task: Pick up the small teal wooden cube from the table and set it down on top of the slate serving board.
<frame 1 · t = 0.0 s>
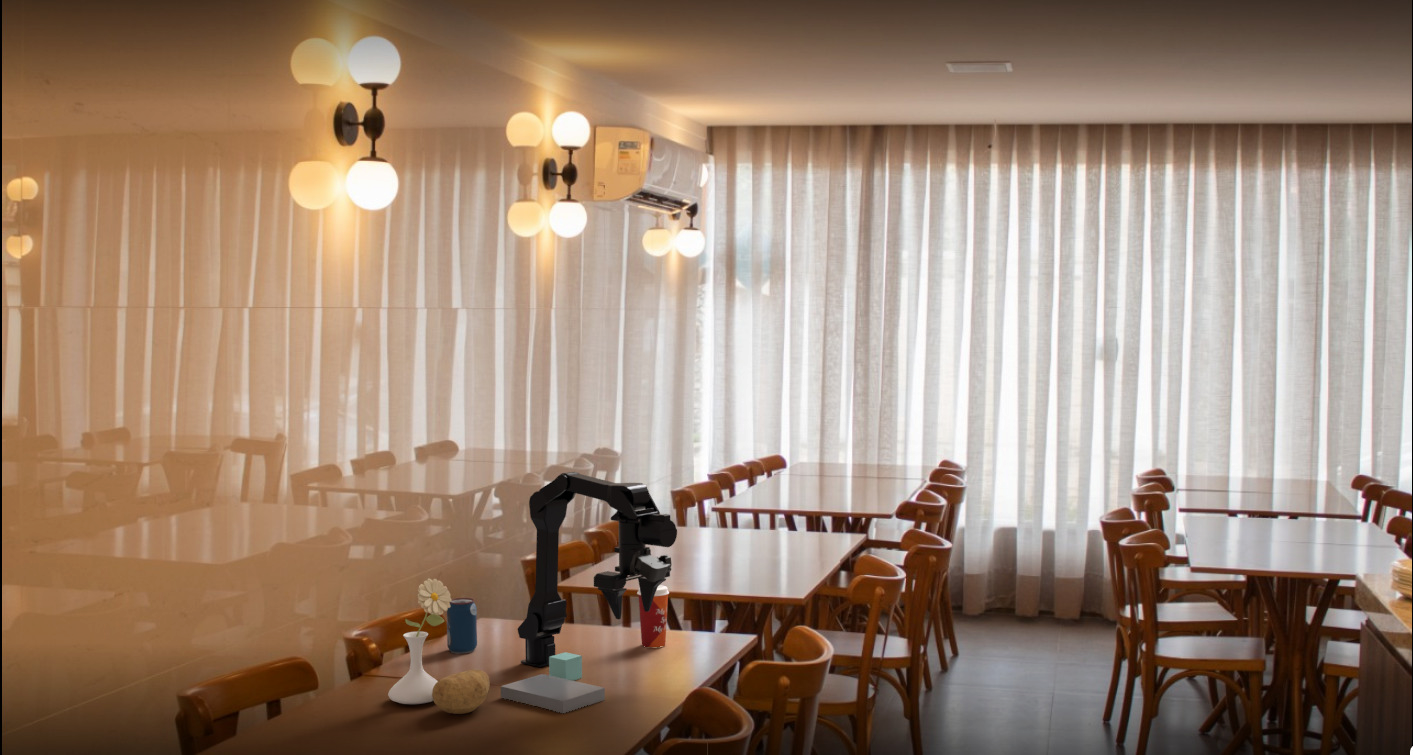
hand: (632, 615, 282), 15 cm above the table, tool pointing down, fingers open, 9 cm apart
paper cup: (653, 646, 316), on the table
teal cube: (565, 679, 287), on the table
soda can: (462, 651, 312), on the table
potato: (463, 712, 263), on the table
flower in vase: (420, 701, 271), on the table
slate board: (552, 699, 271), on the table
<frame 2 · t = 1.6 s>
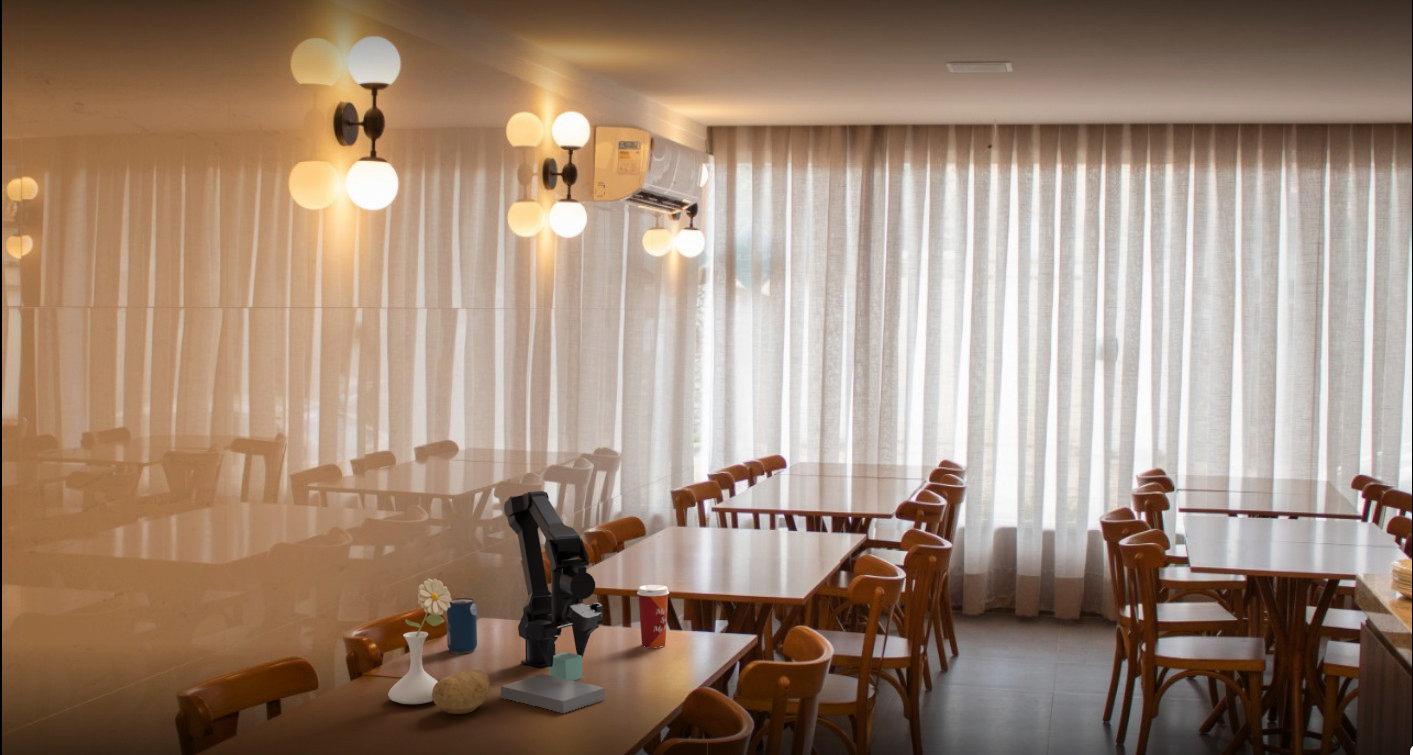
hand: (565, 662, 287), 4 cm above the table, tool pointing down, fingers open, 9 cm apart
nothing on the table moved.
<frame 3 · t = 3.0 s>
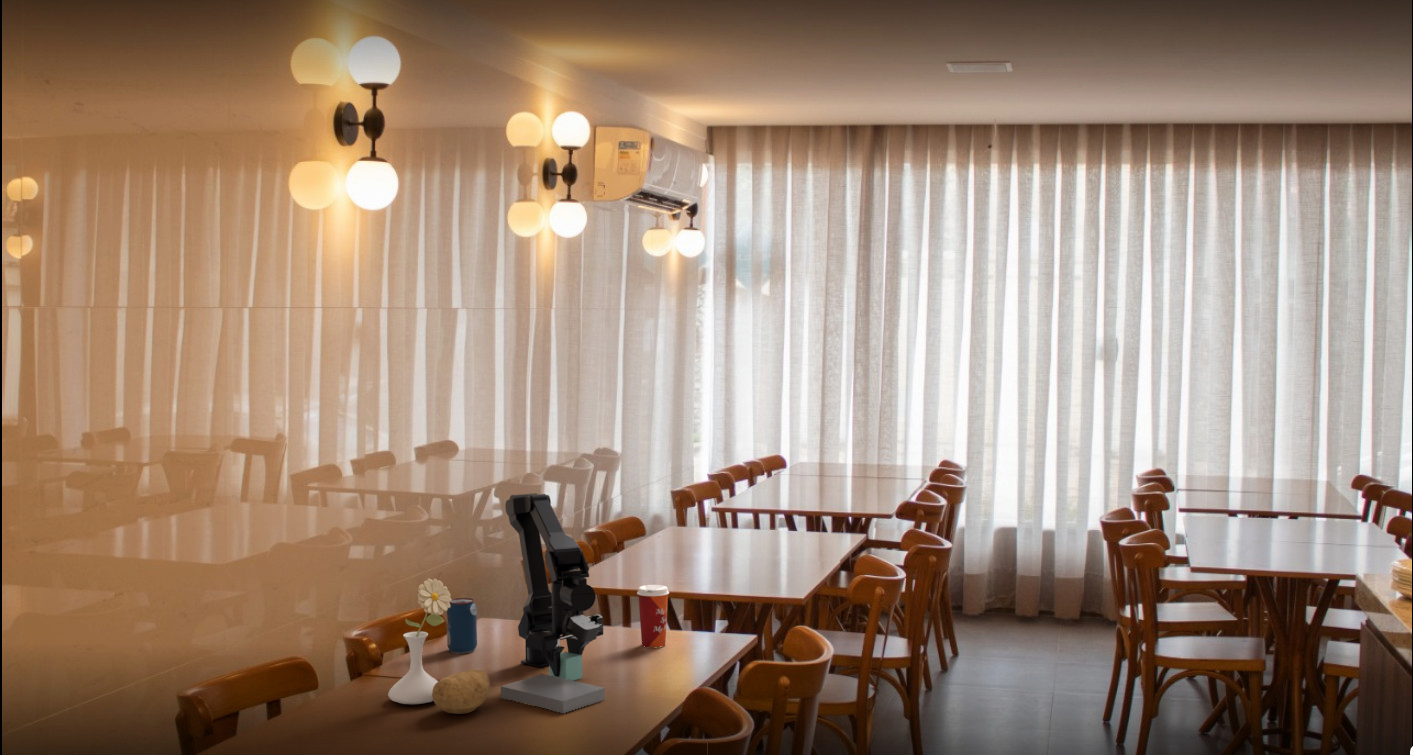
hand: (565, 673, 287), 1 cm above the table, tool pointing down, fingers closed on teal cube, 5 cm apart
teal cube: (565, 678, 287), on the table, touching gripper
everything else where it was.
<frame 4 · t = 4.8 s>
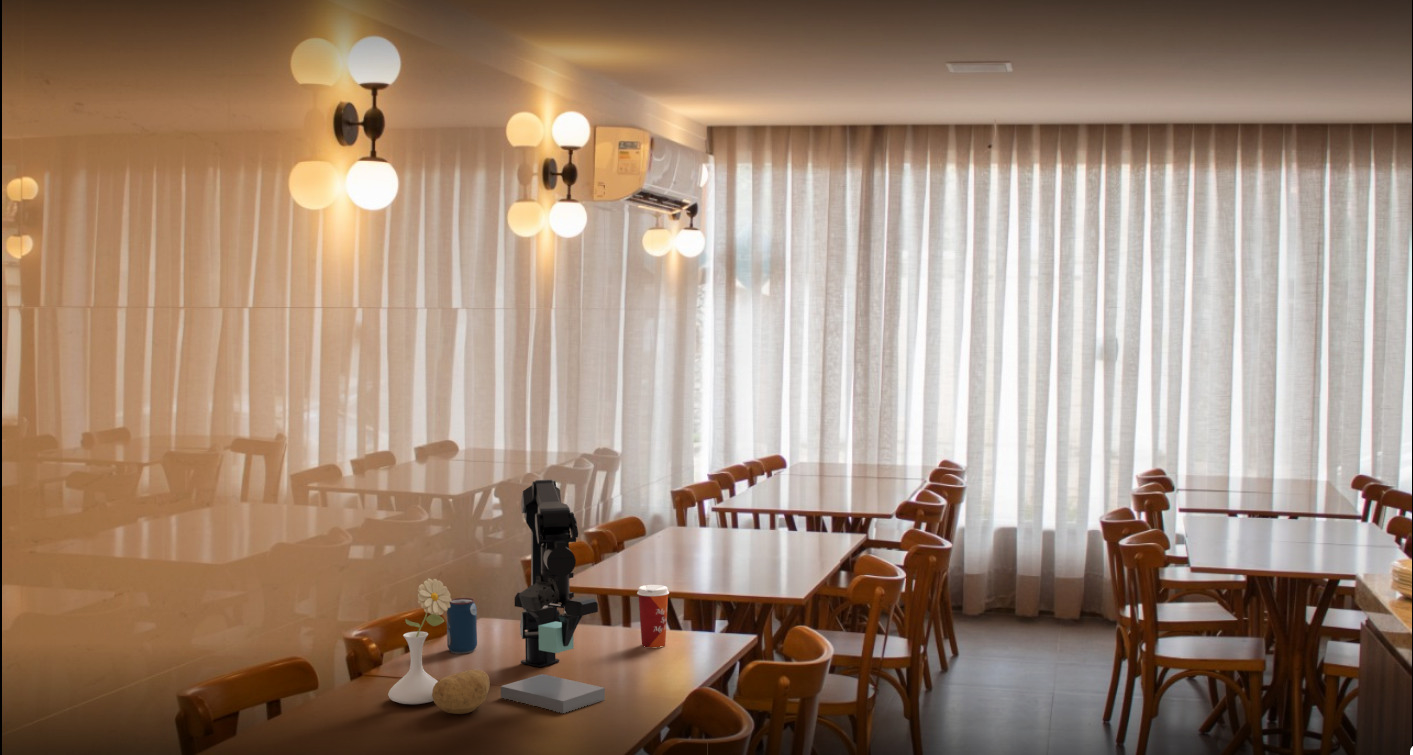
hand: (556, 644, 270), 11 cm above the table, tool pointing down, fingers closed on teal cube, 5 cm apart
teal cube: (556, 649, 270), point 10 cm above the table, touching gripper
everything else where it was.
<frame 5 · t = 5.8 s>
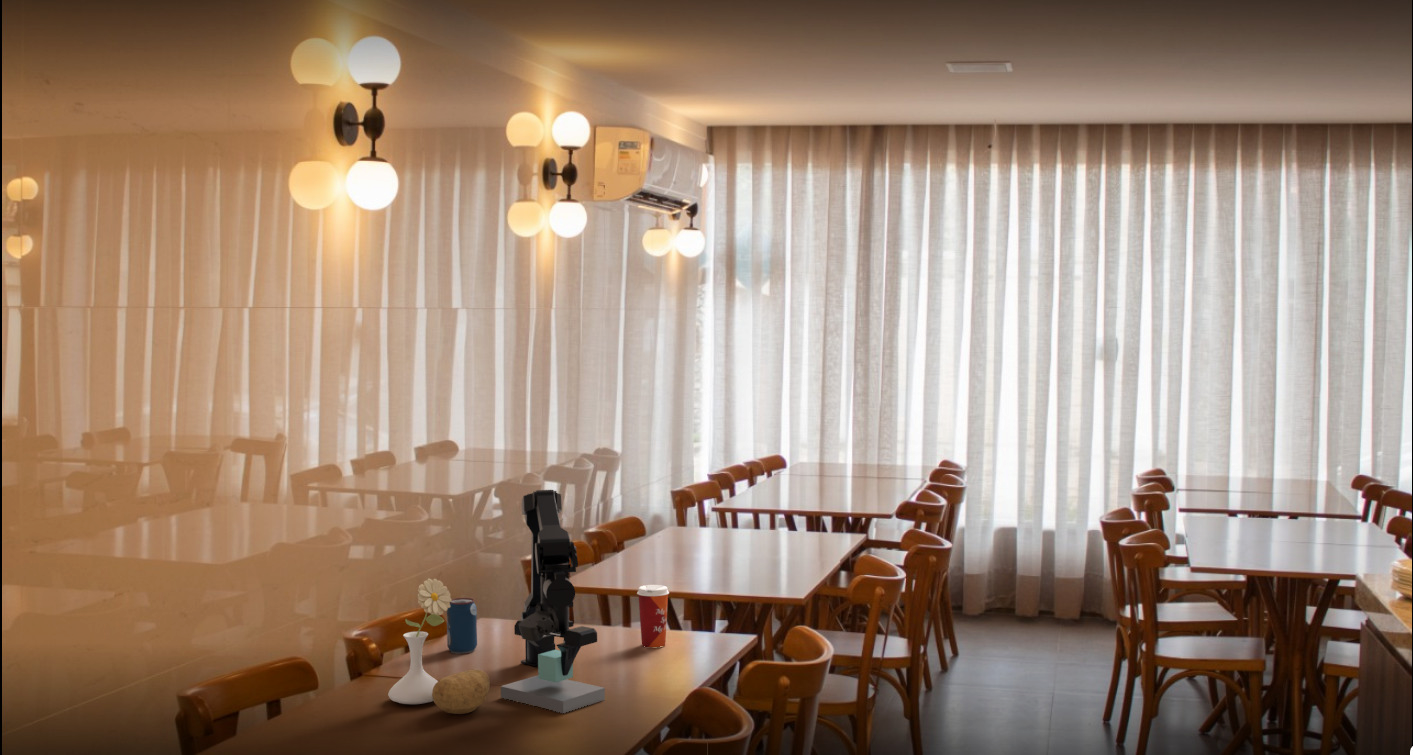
hand: (555, 673, 270), 5 cm above the table, tool pointing down, fingers closed on teal cube, 5 cm apart
teal cube: (555, 677, 270), point 5 cm above the table, touching gripper
everything else where it was.
when the fingers open (4 cm above the table, at t = 6.8 s): teal cube stays where it is, resting on slate board.
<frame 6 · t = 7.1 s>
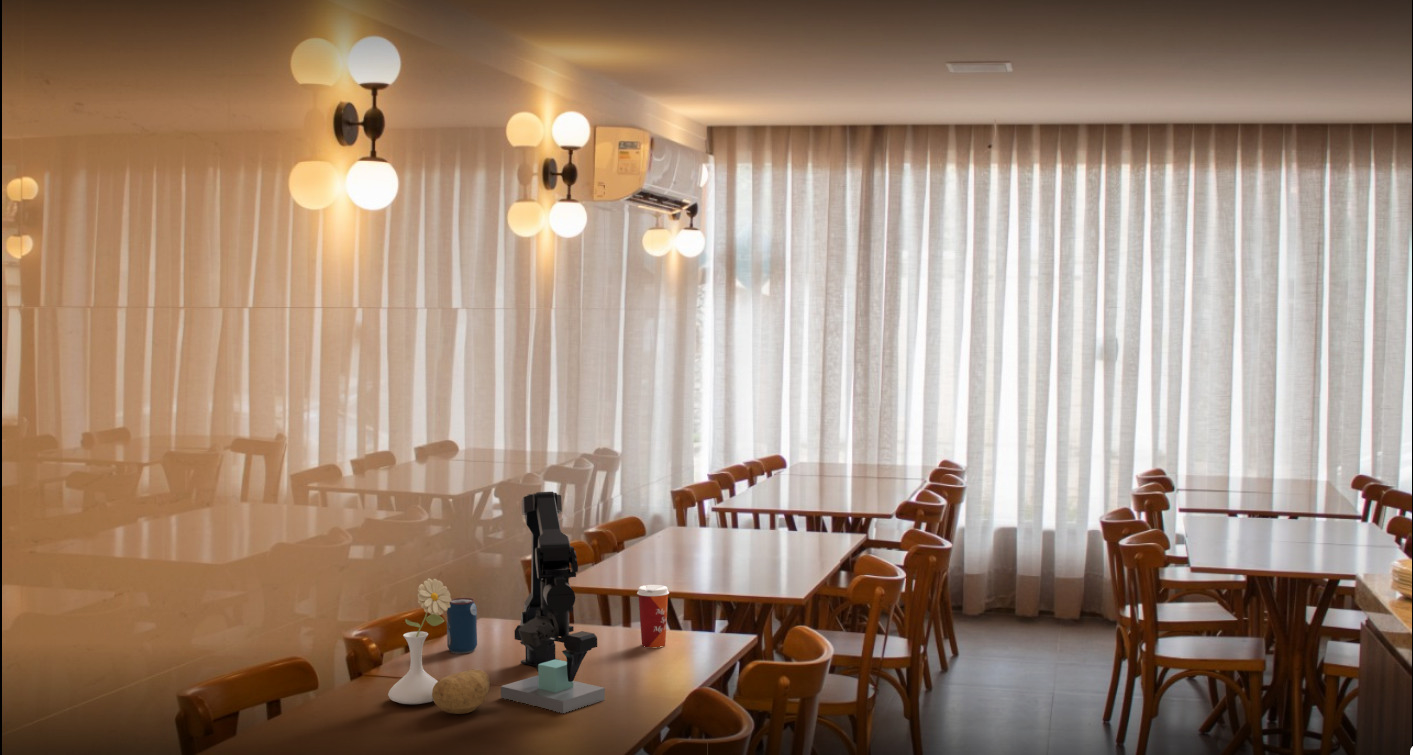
hand: (555, 678, 270), 4 cm above the table, tool pointing down, fingers open, 8 cm apart
teal cube: (555, 687, 270), point 2 cm above the table, touching slate board
everything else where it was.
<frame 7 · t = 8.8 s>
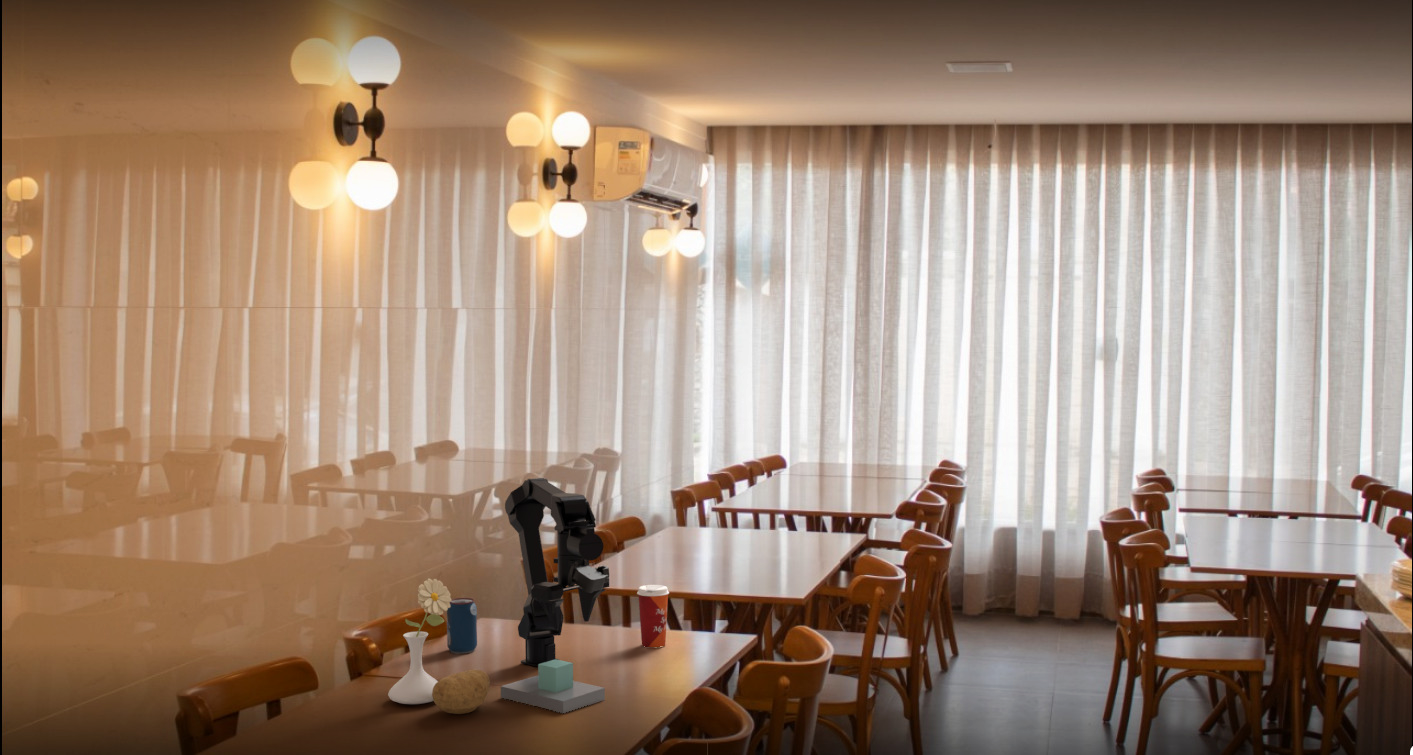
hand: (571, 625, 285), 12 cm above the table, tool pointing down, fingers open, 9 cm apart
nothing on the table moved.
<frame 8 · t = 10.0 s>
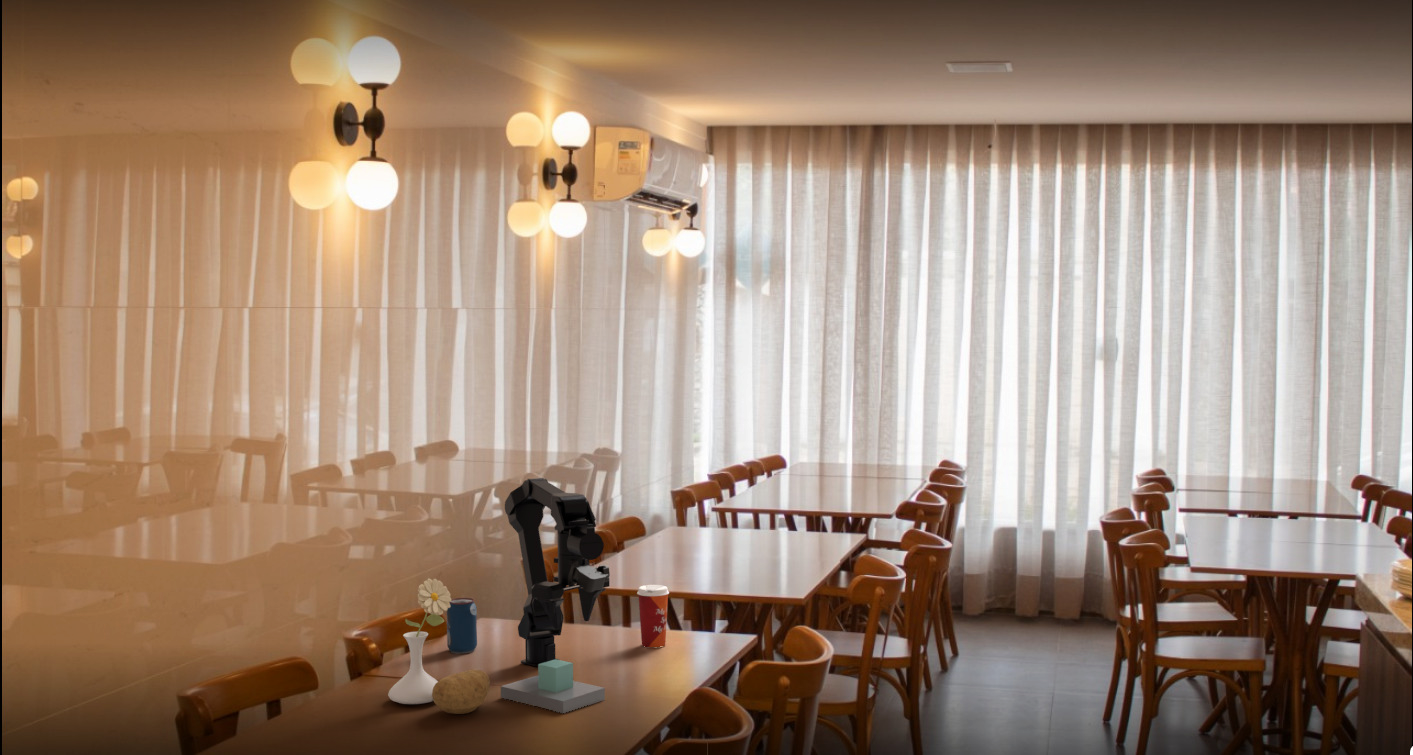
hand: (571, 624, 285), 12 cm above the table, tool pointing down, fingers open, 9 cm apart
nothing on the table moved.
at the end: teal cube inside the target area on the slate board (1.0 cm from its centre), point 2.5 cm above the slate board's base; teal cube tilted 0°; the gripper is holding nothing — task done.
